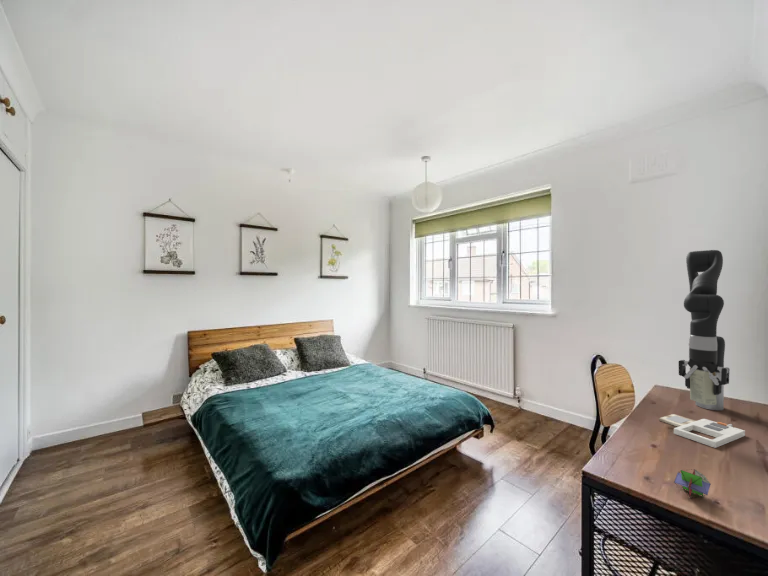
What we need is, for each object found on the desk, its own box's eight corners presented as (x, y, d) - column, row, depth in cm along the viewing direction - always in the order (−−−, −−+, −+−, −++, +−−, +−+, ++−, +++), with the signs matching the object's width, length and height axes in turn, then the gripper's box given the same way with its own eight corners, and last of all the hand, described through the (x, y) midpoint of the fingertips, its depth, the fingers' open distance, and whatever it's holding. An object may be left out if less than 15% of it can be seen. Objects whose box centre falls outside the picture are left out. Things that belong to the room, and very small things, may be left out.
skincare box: (717, 405, 118) (717, 372, 118) (705, 405, 118) (705, 372, 118) (700, 398, 125) (700, 367, 125) (688, 398, 125) (689, 367, 125)
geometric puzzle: (704, 501, 83) (709, 470, 86) (670, 487, 89) (675, 458, 91) (709, 508, 87) (713, 478, 89) (675, 495, 92) (680, 467, 95)
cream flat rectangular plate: (673, 416, 141) (673, 413, 141) (697, 423, 134) (697, 420, 134) (658, 420, 136) (658, 418, 136) (682, 428, 129) (682, 425, 129)
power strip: (711, 420, 136) (711, 414, 136) (752, 432, 125) (752, 425, 125) (673, 433, 125) (673, 426, 125) (715, 447, 114) (715, 440, 114)
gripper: (734, 350, 116) (733, 396, 116) (684, 343, 129) (684, 384, 130) (724, 352, 113) (723, 399, 113) (673, 345, 126) (673, 387, 127)
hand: (702, 391), depth 122 cm, fingers closed on skincare box, 7 cm apart
